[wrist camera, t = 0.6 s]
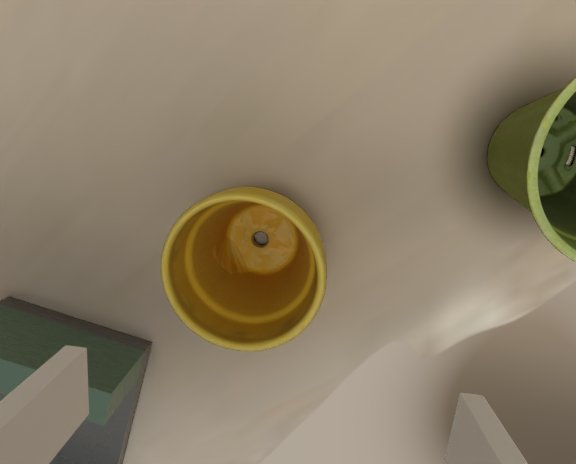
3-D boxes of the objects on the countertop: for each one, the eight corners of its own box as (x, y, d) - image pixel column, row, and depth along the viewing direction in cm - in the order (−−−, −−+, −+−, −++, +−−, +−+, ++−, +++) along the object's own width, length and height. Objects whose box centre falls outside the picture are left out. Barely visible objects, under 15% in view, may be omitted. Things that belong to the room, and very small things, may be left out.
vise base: (-19, 491, 42) (-88, 565, 35) (8, 296, 36) (-69, 336, 29) (105, 530, 42) (61, 612, 35) (152, 342, 36) (111, 393, 29)
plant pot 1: (200, 285, 35) (156, 341, 25) (206, 169, 32) (160, 182, 23) (315, 300, 34) (315, 363, 25) (331, 183, 32) (338, 203, 22)
